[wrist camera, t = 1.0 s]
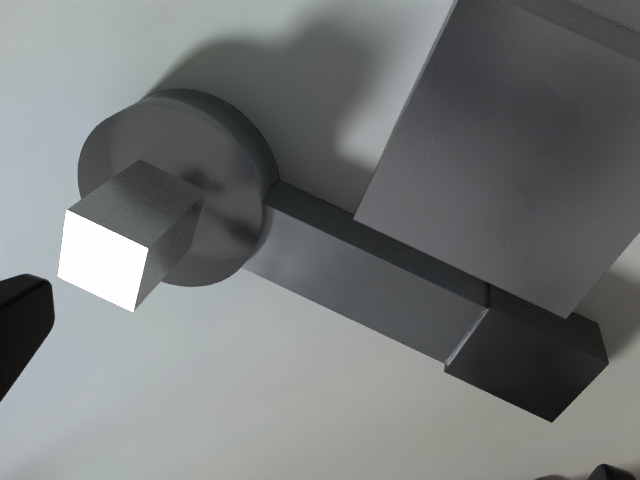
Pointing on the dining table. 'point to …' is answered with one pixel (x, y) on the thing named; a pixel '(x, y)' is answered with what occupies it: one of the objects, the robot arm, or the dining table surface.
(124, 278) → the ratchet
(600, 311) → the dining table surface
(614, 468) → the robot arm
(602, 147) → the brushed metal cube
